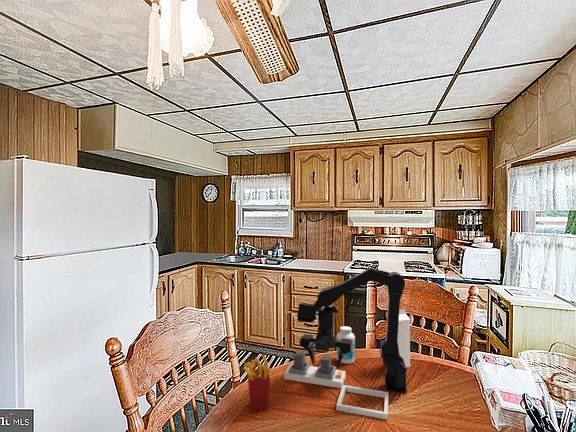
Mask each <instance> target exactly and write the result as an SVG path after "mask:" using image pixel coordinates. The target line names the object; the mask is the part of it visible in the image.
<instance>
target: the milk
mask: <svg viewBox="0 0 576 432" xmlns="http://www.w3.org/2000/svg"><path fill="white" fill-rule="evenodd" d="M397 341H398V348H399V355H400V356H401V357H402V358H403V359H404V362H405V366H406V369H408V368H410V367H411V319H410V317H409V316H408V315H407V313H406V309H399V324H398V340H397Z"/></svg>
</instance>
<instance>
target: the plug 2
mask: <svg viewBox="0 0 576 432" xmlns="http://www.w3.org/2000/svg"><path fill="white" fill-rule="evenodd" d="M320 364H321V373H325V374H330V373H331V366H332V355H329V354H322V356H321V358H320Z"/></svg>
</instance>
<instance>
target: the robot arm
mask: <svg viewBox="0 0 576 432" xmlns="http://www.w3.org/2000/svg"><path fill="white" fill-rule="evenodd" d="M371 281H373V282H376V283H379V284H380V285H384V286H386V290H387V295H388V296H387V297H388V301H387V317H386V330H385V331H386V335H385V338H384V339H380V348H379V354H380V359H382V363H383V364H384V366H385V367H386V370H385V371H384V372H385V373H384V375H385V378H384V379H385V382H384V383H385V384H384V385H385V386H386V390H388V391H393V392H399V393H405V394H406V393H408V392H407V391H408V390H407V371H408V370H407V369H408V368H406V366H405V362H404V359H403V358H402V357H401V356H400V355H399V348H398V341H397V340H398V324H399V310H400V307H401V299H402V296H403V294H404V289H405V286H406V281H405V278H404V277H403V276H402V274H401V273H399V272H398V271H392V272H389V271H385V270H381V269H377V268H374V267H368V268H366V270H364V271H362V272H360V273H357V274H356V275H354V276H351V278H348V279H345V280H344V281H342V282H340V283H338V284H334V285H329V286H327V287H323V288H322V289H321V290H320V291H319V293H317V294H318V295H317V298H316V299H317V300H315V301H314V303H305V302H300V303H299V304H298V308H297V309H298V310H297V316H296V317H297V318H296V319H297V322H298V323H306V324H307V323H311V324H314V322H315V321H317V333H316V335H315V338H314V335H313V334H307V333H306V334H305V333H304V334H303V335H302V336H301V337H300V339H299V343H298V344H299V346H300V347H302V349H303V350H306V351H307V353H308V355H309V358H310V361H311V364H312V366H315V363H316V362H315V361H316V359H315V358H316V357H315V351H317V352H319V351H320V352H324V353H328V352H329V351H330V349H334V348H337V347H339V349H340V350H339V356H338V360H337V370H339V368H340V366H341V364H342V363H341V360H342V357H343V355H344V354H347V353H349V352H351V350H352V347H353V342H352V340H351V339H341V341H337V340H336V338H335V333H334V332H335V325H334V324H335V320H334V319H335V318H334V317H335V314H338V313H339V312H340V308H339V307H337V306H336V304H334V303H335V302H336V301H338V300H339V299H340V298H341V297H342V296H344V295H346V294H348V293H350V292H351V291H354V290H356V289H357V288H359V287H361V286H363V285H365V284H368V283H369V282H371ZM331 305H332V306H331Z"/></svg>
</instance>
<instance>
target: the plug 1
mask: <svg viewBox="0 0 576 432" xmlns="http://www.w3.org/2000/svg"><path fill="white" fill-rule="evenodd" d="M293 362H294V369H299V370H304V368H305V362H306V352H305V351H302V350H301V351H300V350H297V351H296V353H295V354H294V355H293Z"/></svg>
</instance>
